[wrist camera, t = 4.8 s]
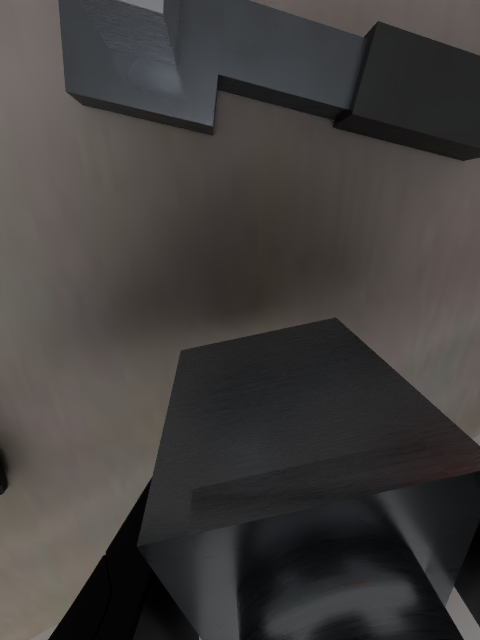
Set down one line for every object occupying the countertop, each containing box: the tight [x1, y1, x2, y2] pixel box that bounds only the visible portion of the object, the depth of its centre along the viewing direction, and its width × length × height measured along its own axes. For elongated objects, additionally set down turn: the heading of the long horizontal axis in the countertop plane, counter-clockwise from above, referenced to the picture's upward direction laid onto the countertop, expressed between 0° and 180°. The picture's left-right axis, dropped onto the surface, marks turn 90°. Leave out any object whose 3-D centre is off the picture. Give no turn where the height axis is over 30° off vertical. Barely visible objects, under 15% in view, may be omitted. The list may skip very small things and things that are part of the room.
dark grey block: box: [137, 318, 480, 640], centre depth 6 cm, size 5×5×6 cm
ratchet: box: [59, 0, 480, 161], centre depth 10 cm, size 20×6×4 cm, turn 80°
